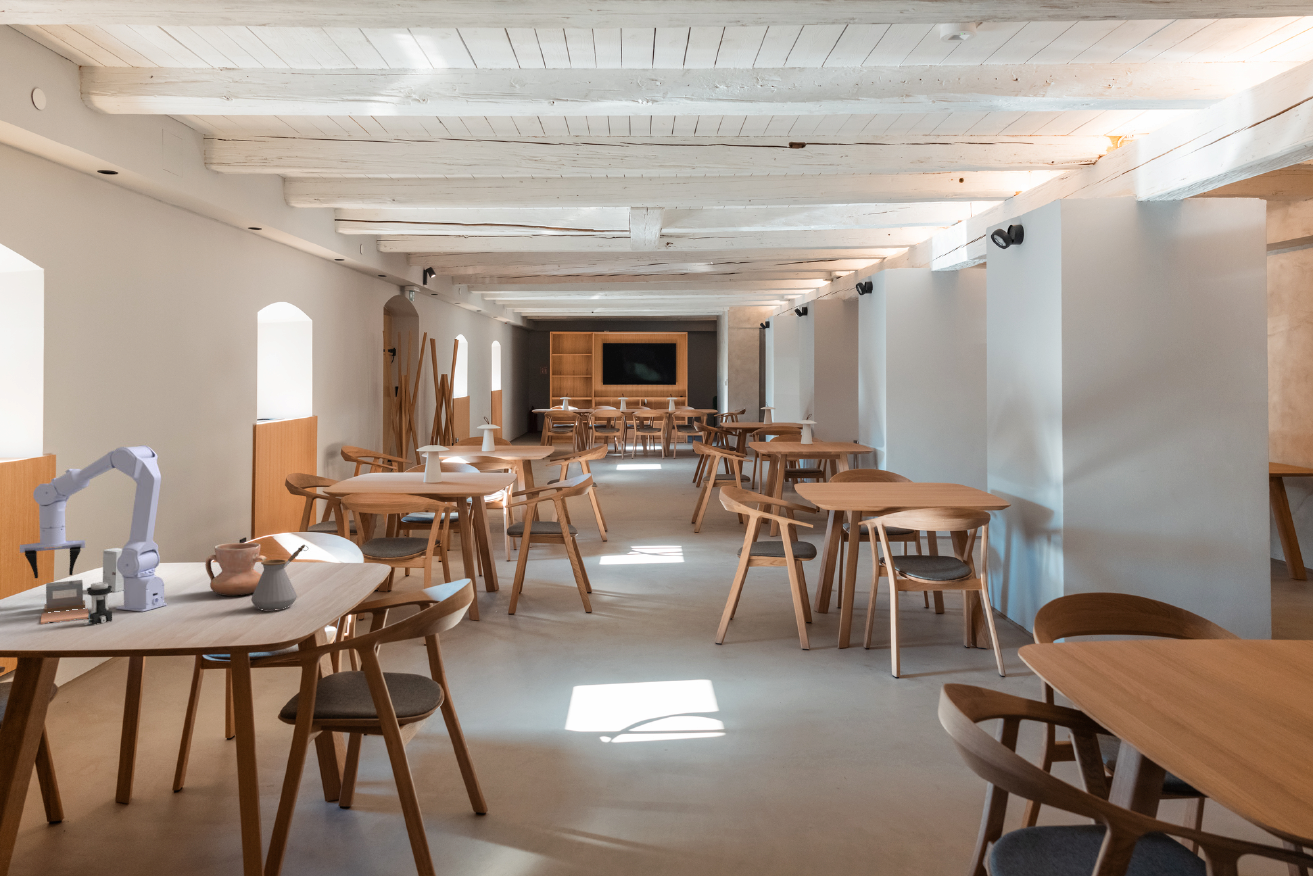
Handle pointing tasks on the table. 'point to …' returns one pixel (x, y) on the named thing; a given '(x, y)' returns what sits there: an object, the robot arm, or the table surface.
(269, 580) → the coffee pot
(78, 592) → the wall unit
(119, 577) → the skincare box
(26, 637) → the table surface
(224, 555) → the ceramic jug
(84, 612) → the terracotta mat
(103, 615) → the push button
